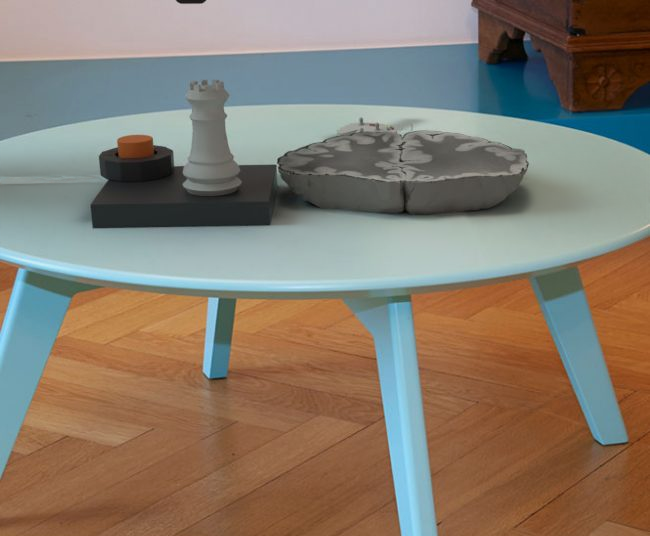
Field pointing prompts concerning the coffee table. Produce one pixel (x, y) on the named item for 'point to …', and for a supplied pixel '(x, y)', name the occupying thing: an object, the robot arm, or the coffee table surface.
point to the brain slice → (404, 172)
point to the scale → (176, 195)
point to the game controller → (366, 128)
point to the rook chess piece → (209, 143)
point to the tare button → (135, 146)
